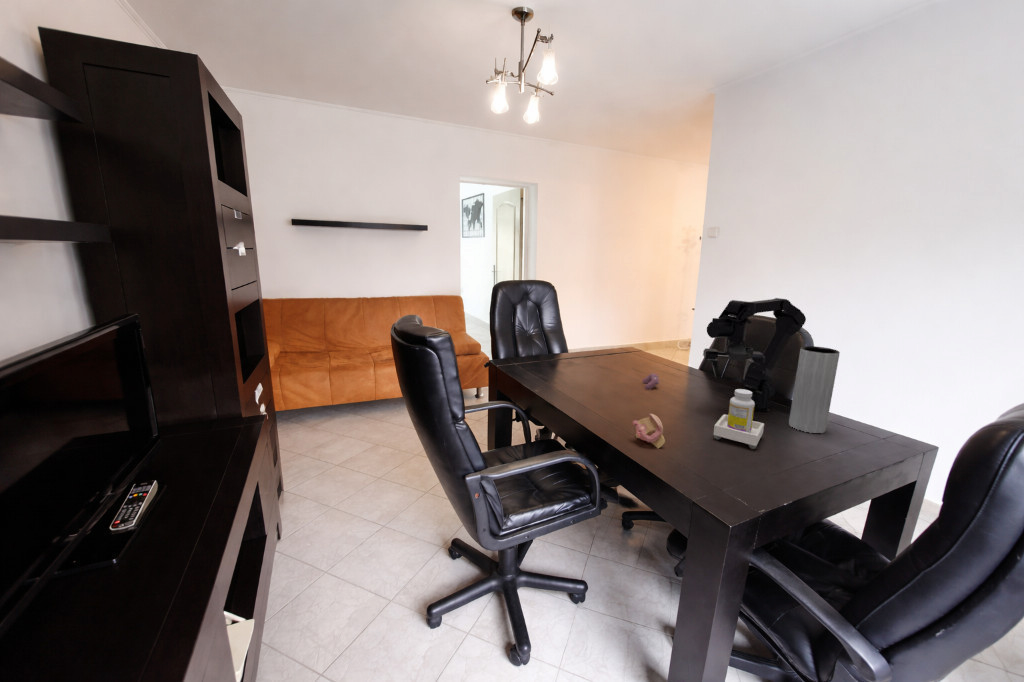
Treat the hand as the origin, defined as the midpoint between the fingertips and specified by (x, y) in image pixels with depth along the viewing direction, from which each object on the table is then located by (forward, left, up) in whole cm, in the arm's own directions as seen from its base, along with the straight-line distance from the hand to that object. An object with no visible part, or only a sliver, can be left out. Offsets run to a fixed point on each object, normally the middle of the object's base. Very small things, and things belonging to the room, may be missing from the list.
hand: (730, 378), depth 143 cm
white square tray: (+1, +23, -13) cm, 26 cm away
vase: (-23, +7, -13) cm, 27 cm away
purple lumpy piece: (+26, -23, -13) cm, 37 cm away
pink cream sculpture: (+28, +34, -13) cm, 46 cm away
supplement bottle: (+1, +23, -10) cm, 25 cm away
